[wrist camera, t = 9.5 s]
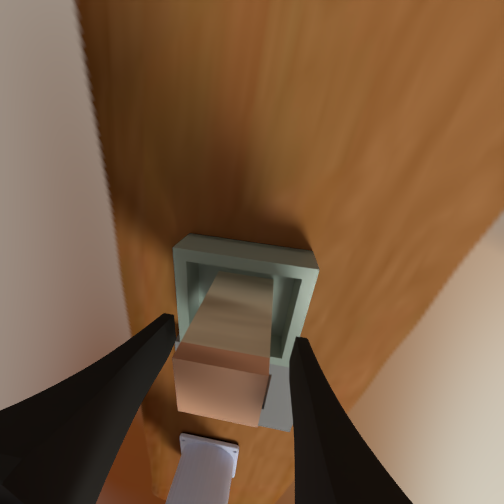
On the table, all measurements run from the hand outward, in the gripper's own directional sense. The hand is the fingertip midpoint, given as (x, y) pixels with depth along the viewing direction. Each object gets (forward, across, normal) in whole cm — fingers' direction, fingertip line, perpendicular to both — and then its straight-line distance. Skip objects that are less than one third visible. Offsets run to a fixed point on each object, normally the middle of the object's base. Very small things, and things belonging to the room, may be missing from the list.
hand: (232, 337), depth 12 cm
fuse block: (+4, 0, 0) cm, 4 cm away
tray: (+4, 0, 0) cm, 4 cm away
